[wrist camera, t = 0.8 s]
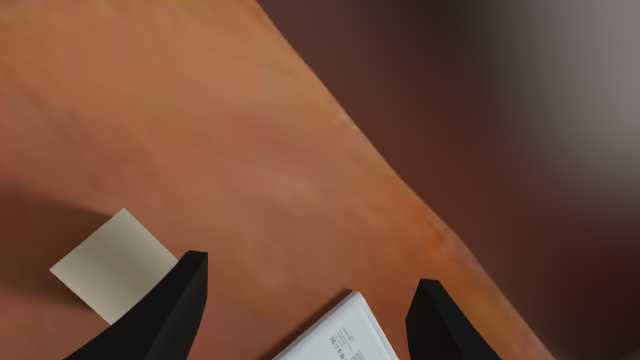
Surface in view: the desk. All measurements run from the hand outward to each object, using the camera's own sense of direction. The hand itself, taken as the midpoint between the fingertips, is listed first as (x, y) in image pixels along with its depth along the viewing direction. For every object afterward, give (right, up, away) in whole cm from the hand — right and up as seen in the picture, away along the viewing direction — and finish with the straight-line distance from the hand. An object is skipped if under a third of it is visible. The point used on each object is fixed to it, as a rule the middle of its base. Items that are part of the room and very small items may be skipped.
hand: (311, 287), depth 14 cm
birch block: (-12, -1, +11) cm, 16 cm away
